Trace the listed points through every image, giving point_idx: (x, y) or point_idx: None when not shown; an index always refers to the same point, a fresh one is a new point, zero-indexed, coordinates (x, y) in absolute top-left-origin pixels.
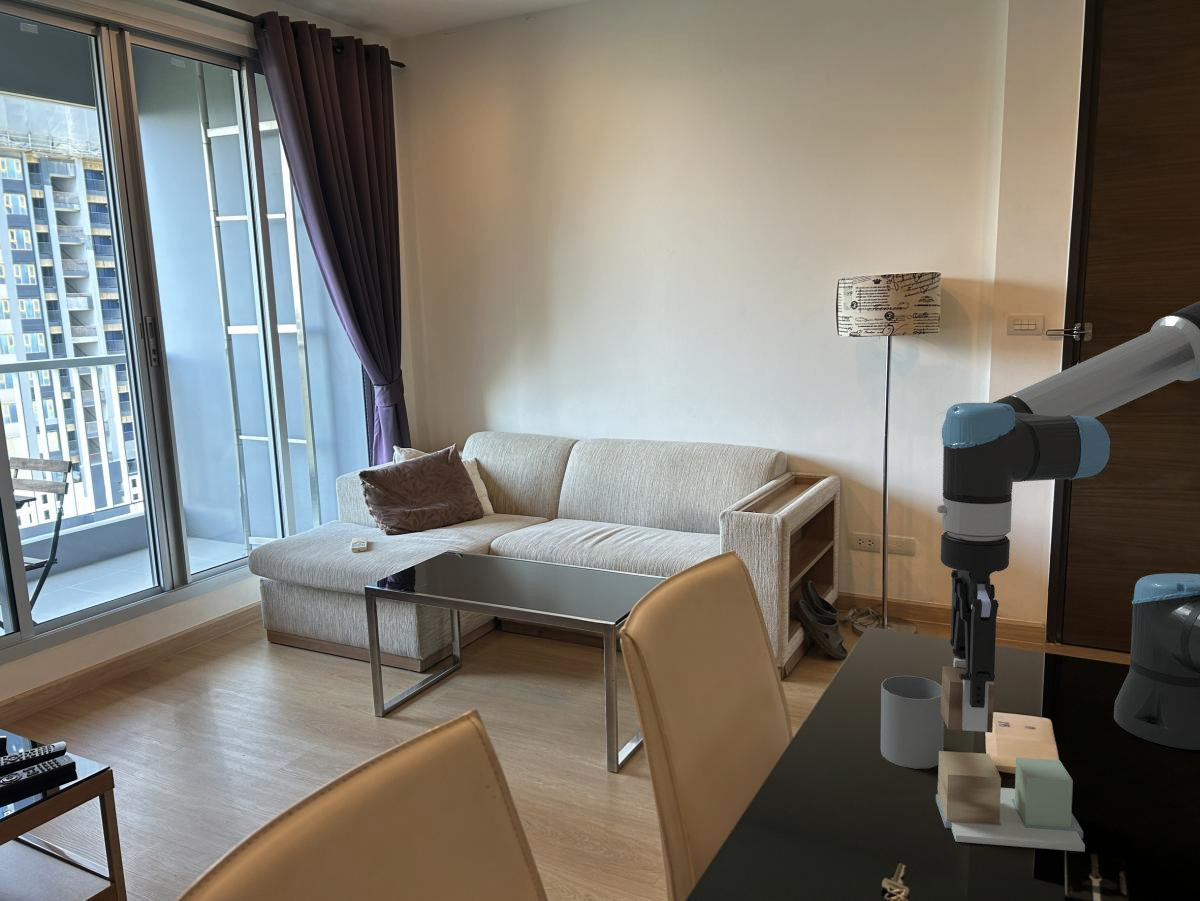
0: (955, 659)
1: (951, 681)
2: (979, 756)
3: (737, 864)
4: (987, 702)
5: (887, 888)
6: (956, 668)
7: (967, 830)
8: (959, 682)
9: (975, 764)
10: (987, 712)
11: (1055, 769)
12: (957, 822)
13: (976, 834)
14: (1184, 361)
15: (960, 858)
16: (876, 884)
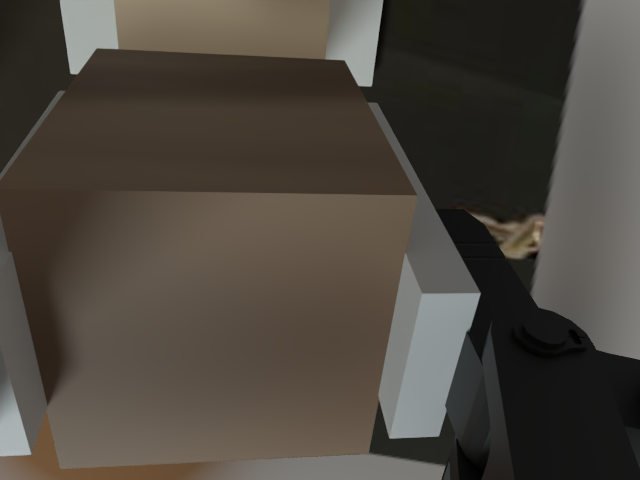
0: (3, 450)
1: (360, 447)
2: (146, 2)
3: (437, 445)
4: (423, 188)
5: (530, 250)
6: (83, 399)
7: (345, 47)
8: (374, 410)
9: (225, 40)
10: (403, 152)
11: None
12: None
13: (366, 27)
14: None
15: (441, 85)
16: (515, 266)
